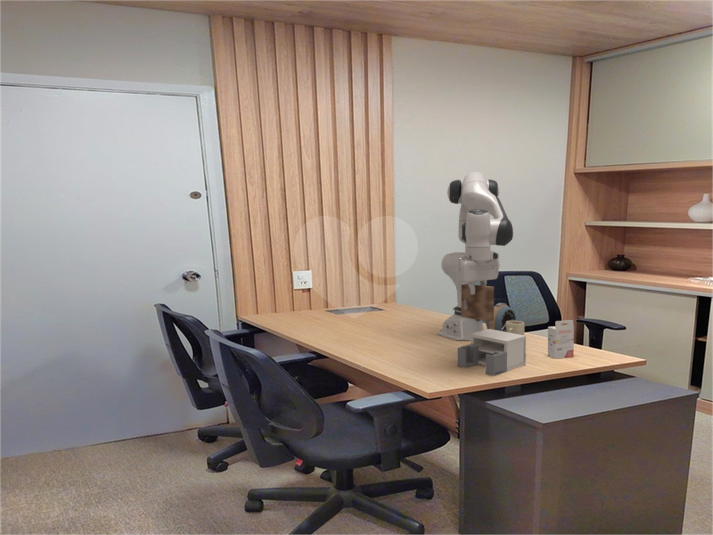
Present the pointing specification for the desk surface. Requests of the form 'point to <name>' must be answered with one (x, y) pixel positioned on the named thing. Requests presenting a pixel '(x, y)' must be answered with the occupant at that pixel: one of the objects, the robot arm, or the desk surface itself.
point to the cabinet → (494, 351)
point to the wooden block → (477, 303)
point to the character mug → (515, 327)
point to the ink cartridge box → (561, 339)
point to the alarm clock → (501, 317)
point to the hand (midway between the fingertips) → (477, 293)
